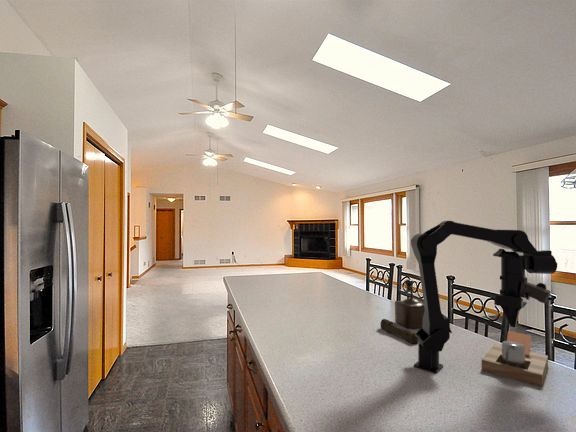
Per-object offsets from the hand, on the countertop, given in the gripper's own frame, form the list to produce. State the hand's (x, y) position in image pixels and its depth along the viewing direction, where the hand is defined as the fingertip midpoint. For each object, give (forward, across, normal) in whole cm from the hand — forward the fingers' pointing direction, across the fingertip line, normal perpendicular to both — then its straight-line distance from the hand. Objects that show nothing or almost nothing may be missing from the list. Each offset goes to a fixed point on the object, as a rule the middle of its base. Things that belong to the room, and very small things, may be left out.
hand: (513, 326), depth 94 cm
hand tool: (+14, +6, +38) cm, 41 cm away
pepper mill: (+13, +26, +41) cm, 50 cm away
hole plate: (+13, +4, 0) cm, 14 cm away
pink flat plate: (+8, +10, 0) cm, 13 cm away
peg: (+13, 0, 0) cm, 13 cm away
